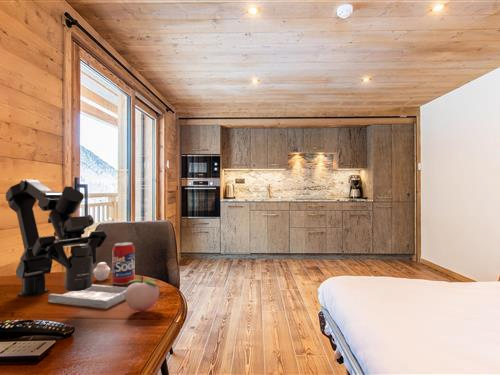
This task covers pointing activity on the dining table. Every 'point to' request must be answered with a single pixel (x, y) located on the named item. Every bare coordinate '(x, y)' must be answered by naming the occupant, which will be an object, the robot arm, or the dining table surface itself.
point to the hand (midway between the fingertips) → (82, 265)
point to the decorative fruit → (141, 294)
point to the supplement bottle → (79, 269)
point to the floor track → (92, 296)
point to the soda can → (123, 263)
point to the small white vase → (101, 271)
